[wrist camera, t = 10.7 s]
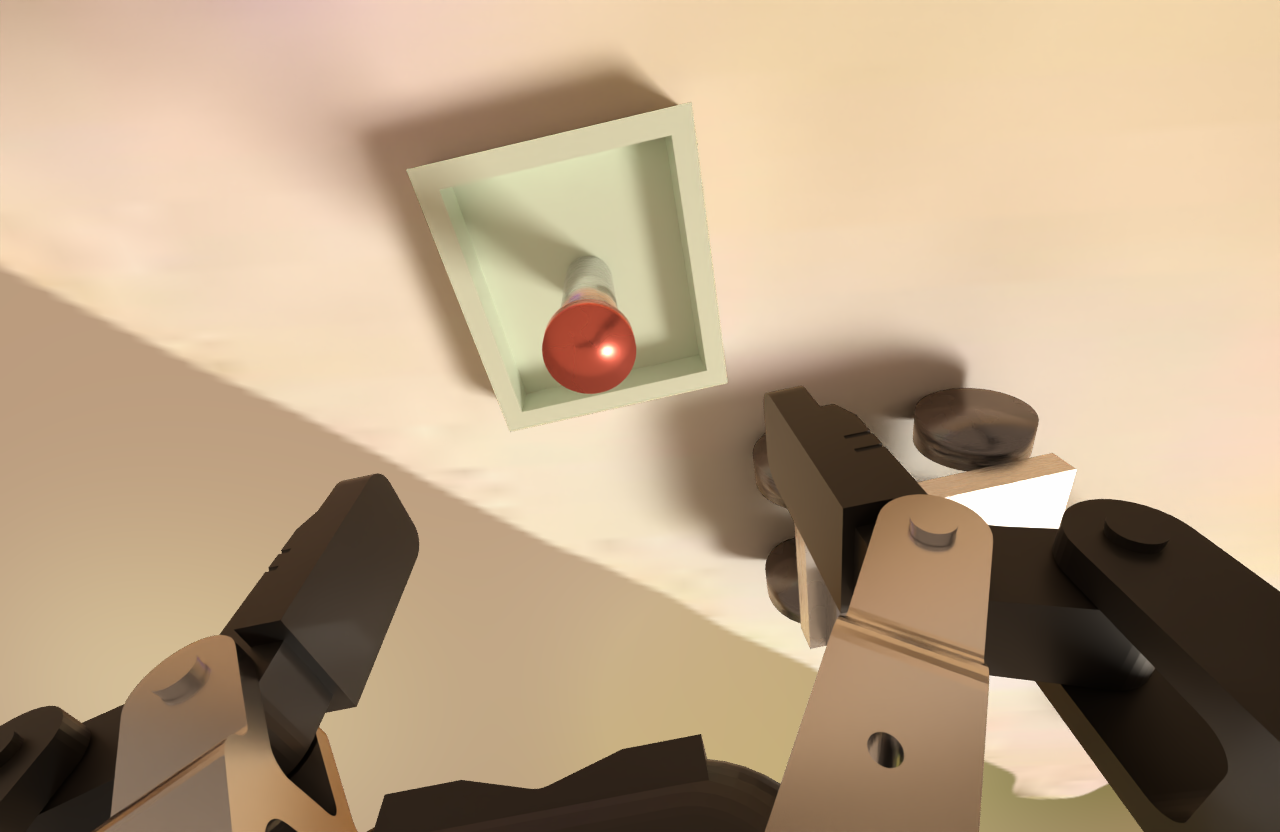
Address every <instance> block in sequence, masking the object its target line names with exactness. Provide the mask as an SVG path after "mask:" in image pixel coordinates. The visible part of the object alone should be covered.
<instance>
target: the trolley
mask: <svg viewBox="0 0 1280 832" xmlns="http://www.w3.org/2000/svg"><path fill="white" fill-rule="evenodd" d="M1038 421H1039V419H1038V415H1037V413H1036V412H1035V410H1034V409H1033V408H1032V407H1031V406H1029V405H1028V404H1027V403H1025V402H1023V401H1022V400H1020V399H1018V398H1015V397H1013V396H1010V395H1007V394H1004V393H1000V392H996V391H991V390H985V389H975V388H958V389H948V390H943V391H939V392H935V393H932V394H930V395H928V396H926V397H924V398H923V399H921V400H920V401H919V402H918V404H917V405H916V407H915V417H914V428H913V442H914V445H915V447H916V448H917V449H918V451H919V452H920V453H922V454H923V455H924V456H925V457H927V458H928V459H930V460H932V461H934V462H936V463H938V464H941V465H943V466H946V467H949V468H953V469H957V470H962V471H967V472H963V473H958V474H954V475H949V476H945V477H940V478H935V479H931V480H926V481H922V482H917V483H918V484H919V485H920V486H921V487H922V488H923V489H924V490H925V492H926V493H927V494H928V495H934V496H940V497H944V498H948V499H951V500H954V501H957V502H959V503H961V504H963V505H965V506H967V507H969V508H970V509H972V510H974V511H975V512H976V513H977V514H979V515H980V516H981V517H982V518H983V519H984V520H985V521H986V523H987V524H990V525H997V526H1012V527H1036V528H1059V525H1060V522H1061V519H1062V516H1063V514H1064V510H1065V507H1066V504H1067V500H1068V497H1069V493H1070V490H1071V487H1072V483H1073V480H1074V476H1075V473H1076V469H1075V468H1074V467H1072V466H1071V465H1069V464H1068V463H1067V462H1065V461H1064V460H1062V459H1061V458H1059V457H1058V456H1056V455H1055V454H1053V453H1050V454H1046V455H1041V456H1036V457H1032V458H1029V457H1030V455H1031V453H1032V448H1033V444H1034V440H1035V435H1036V431H1037V427H1038ZM753 460H754V469H755V478H756V484H757V487H758V489H759V491H760V492H761V493H762V495H763V496H764V497H766V498H767V499H768V500H770V501H771V502H773V503H775V504H777V505H779V506H782V507H784V508H787V507H786V505H785V503H784V501H783V499H782V497H781V495H780V493H779V491H778V489H777V487H776V485H775V483H774V480H773V478H772V475H771V471H770V467H769V462H768V456H767V443H766V434H765V435H763V436H762V437H761V438H760V439H759V440H758V441H757V442H756V444H755V446H754V449H753ZM765 570H766V579H767V588H768V594H769V597H770V599H771V602H772V603H773V605H774V606H775V607H776V608H777V610H778V611H780V612H781V613H782V614H783V615H785V616H786V617H788V618H789V619H791V620H793V621H796V622H798V623H801V629H802V631H803V633H804V636H805V638H806V640H807V642H808V645H809V647H810V649H812V648H816V647H821V646H827V644H828V641H829V638H830V635H831V632H832V629H833V626H834V624H835V622H836V620H837V618H838V617H839V616H840V615H843V616H846V614H847V613H840V611H839V610H838V608H837V606H836V604H835V602H834V600H833V598H832V596H831V594H830V592H829V590H828V588H827V586H826V584H825V582H824V580H823V578H822V576H821V574H820V572H819V570H818V568H817V566H816V564H815V562H814V560H813V558H812V556H811V554H810V552H809V550H808V548H807V546H806V544H805V542H804V540H803V538H802V537H801V535H800V533H799V531H798V529H797V527H796V525H795V538H794V539H790V540H787V541H785V542H783V543H781V544H779V545H778V546H776V547H775V548H774V549H773V550H772V551H771V553H770V554H769V556H768V558H767V560H766V567H765Z"/></svg>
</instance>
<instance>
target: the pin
mask: <svg viewBox="0 0 1280 832" xmlns="http://www.w3.org/2000/svg"><path fill="white" fill-rule="evenodd" d="M542 355H543V360H544V363H545V366H546V368H547V370H548V372H549V373H550V374H551V376H552V377H553V378H554V379H555V380H556V381H557V382H558V383H559V384H561V385H562V386H564V387H565V388H567V389H569V390H572V391H575V392H578V393H584V394H596V393H601V392H605V391H608V390H610V389H612V388H614V387H616V386H617V385H619V384H620V383H621V382H622V381H623V380H624V379H625V378H626V377H627V376H628V375H629V373H630V371H631V370H632V368H633V365H634V362H635V359H636V342H635V338H634V333H633V330H632V327H631V325H630V323H629V321H628V320H627V318H626V317H625V316H624V314H623V313H622V312H621V311H620V310H618V307H617V301H616V296H615V290H614V284H613V278H612V273H611V271H610V268H609V267H608V265H607V264H606V263H605V262H604V261H603V260H601V259H599V258H597V257H594V256H582V257H579V258H577V259H576V260H574V261H573V262H572V263H571V264H570V265H569V267H568V269H567V271H566V276H565V282H564V288H563V295H562V301H561V307H560V309H559V310H558V311H557V312H556V313H555V314H554V315H553V316H552V317H551V319H550V320H549V322H548V324H547V327H546V330H545V334H544V338H543V343H542Z"/></svg>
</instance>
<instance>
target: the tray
mask: <svg viewBox="0 0 1280 832" xmlns="http://www.w3.org/2000/svg"><path fill="white" fill-rule="evenodd" d="M406 171H407V173H408V176H409V178H410V181H411V183H412V186H413V188H414V191H415V193H416V196H417V199H418V201H419V204H420V206H421V209H422V211H423V214H424V216H425V219H426V221H427V224H428V226H429V229H430V231H431V234H432V236H433V239H434V241H435V244H436V247H437V249H438V252H439V254H440V257H441V259H442V262H443V264H444V267H445V269H446V272H447V274H448V277H449V279H450V282H451V284H452V287H453V289H454V292H455V295H456V297H457V300H458V302H459V305H460V307H461V310H462V312H463V315H464V317H465V320H466V322H467V325H468V327H469V330H470V332H471V335H472V337H473V340H474V343H475V345H476V348H477V350H478V353H479V355H480V358H481V360H482V363H483V365H484V368H485V370H486V373H487V375H488V378H489V380H490V383H491V385H492V388H493V391H494V393H495V396H496V398H497V401H498V403H499V406H500V408H501V411H502V413H503V416H504V418H505V421H506V423H507V426H508V428H509V431H510V432H512V431H517V430H521V429H526V428H530V427H535V426H539V425H544V424H548V423H552V422H557V421H561V420H566V419H570V418H575V417H579V416H584V415H588V414H593V413H597V412H602V411H606V410H611V409H615V408H619V407H624V406H628V405H633V404H637V403H642V402H646V401H651V400H655V399H660V398H664V397H669V396H673V395H678V394H682V393H686V392H691V391H695V390H700V389H704V388H709V387H713V386H718V385H722V384H727V383H728V381H727V373H726V366H725V358H724V350H723V342H722V334H721V327H720V319H719V311H718V303H717V296H716V288H715V280H714V272H713V264H712V257H711V249H710V241H709V233H708V226H707V218H706V210H705V202H704V194H703V187H702V179H701V171H700V163H699V155H698V148H697V140H696V132H695V124H694V117H693V109H692V102H689V103H685V104H680V105H676V106H672V107H668V108H664V109H659V110H655V111H651V112H647V113H642V114H638V115H634V116H630V117H626V118H621V119H617V120H613V121H609V122H604V123H600V124H596V125H592V126H587V127H583V128H579V129H575V130H571V131H566V132H562V133H558V134H554V135H549V136H545V137H541V138H537V139H533V140H528V141H524V142H520V143H516V144H511V145H507V146H503V147H499V148H494V149H490V150H486V151H482V152H478V153H473V154H469V155H465V156H461V157H456V158H452V159H448V160H444V161H440V162H435V163H431V164H427V165H423V166H418V167H414V168H410V169H406ZM582 256H594V257H597V258H599V259H601V260H603V261H604V262H605V263H606V264H607V265H608V267H609V268H610V271H611V273H612V278H613V284H614V290H615V296H616V301H617V307H618V310H620V311H621V312H622V313H623V314H624V316H625V317H626V318H627V320H628V321H629V323H630V325H631V327H632V330H633V333H634V338H635V342H636V359H635V362H634V365H633V368H632V370H631V371H630V373H629V375H628V376H627V377H626V378H625V379H624V380H623V381H622V382H621V383H620V384H619V385H617V386H616V387H614V388H612V389H610V390H608V391H605V392H601V393H596V394H584V393H578V392H575V391H572V390H569V389H567V388H565V387H564V386H562V385H561V384H559V383H558V382H557V381H556V380H555V379H554V378H553V377H552V376H551V374H550V373H549V372H548V370H547V368H546V366H545V363H544V360H543V355H542V343H543V338H544V334H545V330H546V327H547V324H548V322H549V320H550V319H551V317H552V316H553V315H554V314H555V313H556V312H557V311H558V310H559V309H560V307H561V301H562V295H563V288H564V282H565V276H566V271H567V269H568V267H569V265H570V264H571V263H572V262H573V261H574V260H576V259H577V258H579V257H582Z"/></svg>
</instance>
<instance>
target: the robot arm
mask: <svg viewBox="0 0 1280 832" xmlns="http://www.w3.org/2000/svg"><path fill="white" fill-rule="evenodd" d="M764 417H765V430H766V443H767V456H768V462H769V467H770V471H771V475H772V478H773V480H774V483H775V485H776V487H777V489H778V491H779V493H780V495H781V497H782V499H783V501H784V503H785V505H786V507H787V509H788V511H789V513H790V515H791V517H792V519H793V521H794V523H795V525H796V527H797V529H798V531H799V533H800V535H801V537H802V538H803V540H804V542H805V544H806V546H807V548H808V550H809V552H810V554H811V556H812V558H813V560H814V562H815V564H816V566H817V568H818V570H819V572H820V574H821V576H822V578H823V580H824V582H825V584H826V586H827V588H828V590H829V592H830V594H831V596H832V598H833V600H834V602H835V604H836V606H837V608H838V610H839V611H840V613H847V614H846V616H843V615H840V616H839V617H838V618H837V620H836V622H835V624H834V626H833V629H832V632H831V635H830V638H829V641H828V644H827V647H826V650H825V653H824V656H823V659H822V662H821V665H820V668H819V671H818V674H817V677H816V680H815V683H814V686H813V689H812V692H811V695H810V698H809V701H808V704H807V707H806V710H805V713H804V716H803V719H802V722H801V725H800V728H799V731H798V734H797V737H796V740H795V743H794V746H793V749H792V752H791V755H790V758H789V761H788V764H787V767H786V770H785V773H784V776H783V779H782V782H781V784H780V783H778V782H776V781H775V780H773V779H771V778H769V777H768V776H766V775H764V774H761V773H759V772H756V771H754V770H752V769H749V768H747V767H744V766H741V765H737V764H733V763H729V762H725V761H718V760H710V759H707V757H706V753H705V749H704V745H703V741H702V737H701V734H700V735H694V736H689V737H684V738H679V739H674V740H668V741H663V742H658V743H652V744H648V745H643V746H637V747H631V748H626V749H622V750H620V751H618V752H616V753H614V754H612V755H610V756H608V757H606V758H604V759H602V760H599V761H597V762H595V763H594V764H591V765H589V766H588V767H585V768H583V769H581V770H579V771H577V772H576V773H573V774H571V775H569V776H567V777H565V778H563V779H561V780H559V781H557V782H555V783H553V784H551V785H549V786H546V787H544V788H540V789H526V788H519V787H511V786H504V785H496V784H488V783H481V782H473V781H465V780H459V781H454V782H449V783H444V784H438V785H433V786H428V787H422V788H418V789H412V790H407V791H402V792H397V793H391V794H386V795H385V796H384V799H383V802H382V805H381V809H380V812H379V816H378V818H377V822H376V825H375V827H374V828H373V829H371V830H369V831H367V832H979V826H980V811H981V796H982V780H983V767H984V752H985V737H986V722H987V707H988V692H989V675H991V676H999V677H1007V678H1015V679H1023V680H1031V681H1035V682H1036V683H1037V685H1038V686H1039V687H1040V689H1041V690H1042V691H1043V693H1044V694H1045V696H1046V697H1047V698H1048V700H1049V701H1050V703H1051V704H1052V705H1053V707H1054V708H1055V709H1056V711H1057V712H1058V714H1059V715H1060V716H1061V718H1062V719H1063V721H1064V722H1065V723H1066V725H1067V726H1068V727H1069V729H1070V730H1071V732H1072V733H1073V734H1074V736H1075V737H1076V739H1077V740H1078V741H1079V743H1080V744H1081V745H1082V747H1083V748H1084V750H1085V751H1086V752H1087V754H1088V755H1089V757H1090V758H1091V759H1092V761H1093V762H1094V763H1095V765H1096V766H1097V768H1098V769H1099V770H1100V772H1101V773H1102V775H1103V776H1104V777H1105V779H1106V780H1107V781H1108V783H1109V784H1110V786H1111V787H1112V788H1113V790H1114V791H1115V793H1116V794H1117V795H1118V797H1119V798H1120V799H1121V801H1122V802H1123V804H1124V805H1125V806H1126V808H1127V809H1128V810H1129V812H1130V813H1131V815H1132V816H1133V817H1134V819H1135V820H1136V822H1137V823H1138V824H1139V826H1140V827H1141V829H1142V830H1143V831H1144V832H1280V591H1278V590H1277V589H1276V588H1274V587H1273V586H1271V585H1270V584H1269V583H1267V582H1266V581H1265V580H1263V579H1262V578H1260V577H1259V576H1258V575H1256V574H1255V573H1254V572H1252V571H1251V570H1249V569H1248V568H1247V567H1245V566H1244V565H1243V564H1241V563H1240V562H1239V561H1237V560H1236V559H1234V558H1233V557H1232V556H1230V555H1229V554H1228V553H1226V552H1225V551H1223V550H1222V549H1221V548H1219V547H1218V546H1217V545H1215V544H1214V543H1212V542H1211V541H1210V540H1208V539H1207V538H1206V537H1204V536H1203V535H1201V534H1200V533H1199V532H1197V531H1196V530H1195V529H1193V528H1192V527H1190V526H1189V525H1187V524H1186V523H1184V522H1182V521H1181V520H1179V519H1177V518H1175V517H1173V516H1171V515H1169V514H1166V513H1164V512H1162V511H1159V510H1157V509H1154V508H1151V507H1148V506H1144V505H1141V504H1137V503H1133V502H1127V501H1122V500H1112V499H1095V500H1087V501H1083V502H1079V503H1077V504H1074V505H1072V506H1071V507H1069V508H1068V509H1067V510H1066V511H1065V512H1064V514H1063V516H1062V519H1061V522H1060V525H1059V528H1036V527H1012V526H997V525H990V524H987V523H986V521H985V520H984V519H983V518H982V517H981V516H980V515H979V514H977V513H976V512H975V511H974V510H972V509H970V508H969V507H967V506H965V505H963V504H961V503H959V502H957V501H954V500H951V499H948V498H944V497H940V496H934V495H928V494H927V493H926V492H925V490H924V489H923V488H922V487H921V486H920V485H919V484H918V483H917V482H916V481H915V479H914V478H913V477H912V476H911V475H910V474H909V473H908V472H907V471H906V469H905V468H904V467H903V466H902V465H901V464H900V463H899V462H898V461H897V460H896V458H895V457H894V456H893V455H892V454H891V453H890V452H889V451H888V450H887V449H886V447H882V443H881V442H880V441H879V440H878V439H877V438H876V436H875V435H874V434H871V433H870V430H869V429H868V428H867V426H866V425H865V424H864V423H863V422H862V421H861V420H860V419H859V418H858V417H857V415H855V414H853V413H851V412H849V411H847V410H845V409H843V408H841V407H839V406H837V405H835V404H831V405H826V406H821V407H820V406H819V405H818V404H817V403H816V401H815V400H814V399H813V398H812V396H811V395H810V394H809V393H808V391H807V390H806V389H805V388H804V387H803V386H798V387H793V388H788V389H783V390H778V391H774V392H769V393H765V395H764ZM281 551H282V554H279V555H278V556H277V557H276V558H275V560H274V561H273V562H272V564H271V565H270V567H269V572H265V573H264V575H263V576H262V578H261V579H260V580H259V581H258V583H257V584H256V586H255V587H254V588H253V590H252V591H251V592H250V594H249V595H248V596H247V598H246V599H245V601H244V602H243V603H242V605H241V606H240V607H239V609H238V610H237V612H236V613H235V614H234V616H233V617H232V618H231V620H230V621H229V622H228V624H227V625H226V627H225V628H224V629H223V631H222V632H221V633H220V635H214V636H210V637H206V638H203V639H200V640H198V641H196V642H193V643H191V644H189V645H187V646H185V647H184V648H182V649H180V650H178V651H177V652H175V653H174V654H172V655H171V656H169V657H168V658H166V659H165V660H164V661H162V662H161V663H160V664H159V665H157V666H156V667H155V668H154V669H153V670H152V671H150V672H149V673H148V674H147V675H146V676H145V677H144V678H143V679H142V680H141V681H140V683H139V684H138V685H137V686H136V687H135V689H134V690H133V691H132V692H131V694H130V695H129V697H128V699H127V700H126V702H125V704H124V705H122V706H119V707H117V708H115V709H112V710H110V711H108V712H106V713H103V714H101V715H99V716H97V717H94V718H92V719H90V720H88V721H85V722H83V723H81V722H79V721H78V720H77V719H75V718H74V717H72V716H71V715H69V714H68V713H66V712H65V711H64V710H62V709H61V708H59V707H56V706H46V707H41V708H37V709H34V710H31V711H29V712H27V713H24V714H22V715H20V716H18V717H16V718H14V719H12V720H10V721H8V722H7V723H5V724H3V725H1V726H0V832H358V831H357V829H356V827H355V825H354V822H353V819H352V816H351V813H350V809H349V806H348V803H347V799H346V796H345V793H344V789H343V786H342V783H341V779H340V776H339V773H338V769H337V767H336V763H335V759H334V756H333V753H332V750H331V746H330V743H329V740H328V737H327V735H326V733H325V732H324V731H323V730H322V729H321V728H319V725H320V723H321V721H322V719H323V717H324V714H325V713H327V712H332V711H337V710H342V709H347V708H352V707H356V706H357V704H358V702H359V699H360V697H361V694H362V692H363V690H364V687H365V685H366V682H367V680H368V677H369V675H370V672H371V670H372V667H373V665H374V662H375V660H376V658H377V655H378V653H379V650H380V648H381V645H382V643H383V640H384V637H385V635H386V633H387V630H388V628H389V625H390V623H391V620H392V618H393V616H394V613H395V611H396V608H397V606H398V603H399V601H400V598H401V596H402V593H403V591H404V588H405V586H406V584H407V581H408V579H409V576H410V574H411V571H412V569H413V566H414V564H415V561H416V559H417V556H418V552H419V538H418V533H417V530H416V527H415V525H414V524H413V522H412V520H411V518H410V517H409V515H408V513H407V512H406V510H405V508H404V506H403V505H402V503H401V501H400V500H399V498H398V496H397V494H396V492H395V491H394V489H393V487H392V486H391V484H390V482H389V481H388V479H387V478H386V477H385V476H384V475H381V474H373V475H368V476H363V477H358V478H353V479H349V480H344V481H341V482H339V483H338V484H337V485H336V486H335V488H334V489H333V491H332V492H331V493H330V495H329V496H328V497H327V499H326V500H325V502H324V503H323V504H322V506H321V507H320V509H319V510H318V511H317V512H316V513H315V514H314V515H313V516H311V517H310V518H309V519H308V520H307V521H306V522H305V523H303V524H302V525H301V526H300V527H299V528H298V529H297V530H296V531H295V532H294V534H293V535H292V536H291V538H290V539H289V541H288V542H287V543H286V544H285V546H284V547H283V549H282V550H281Z"/></svg>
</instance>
